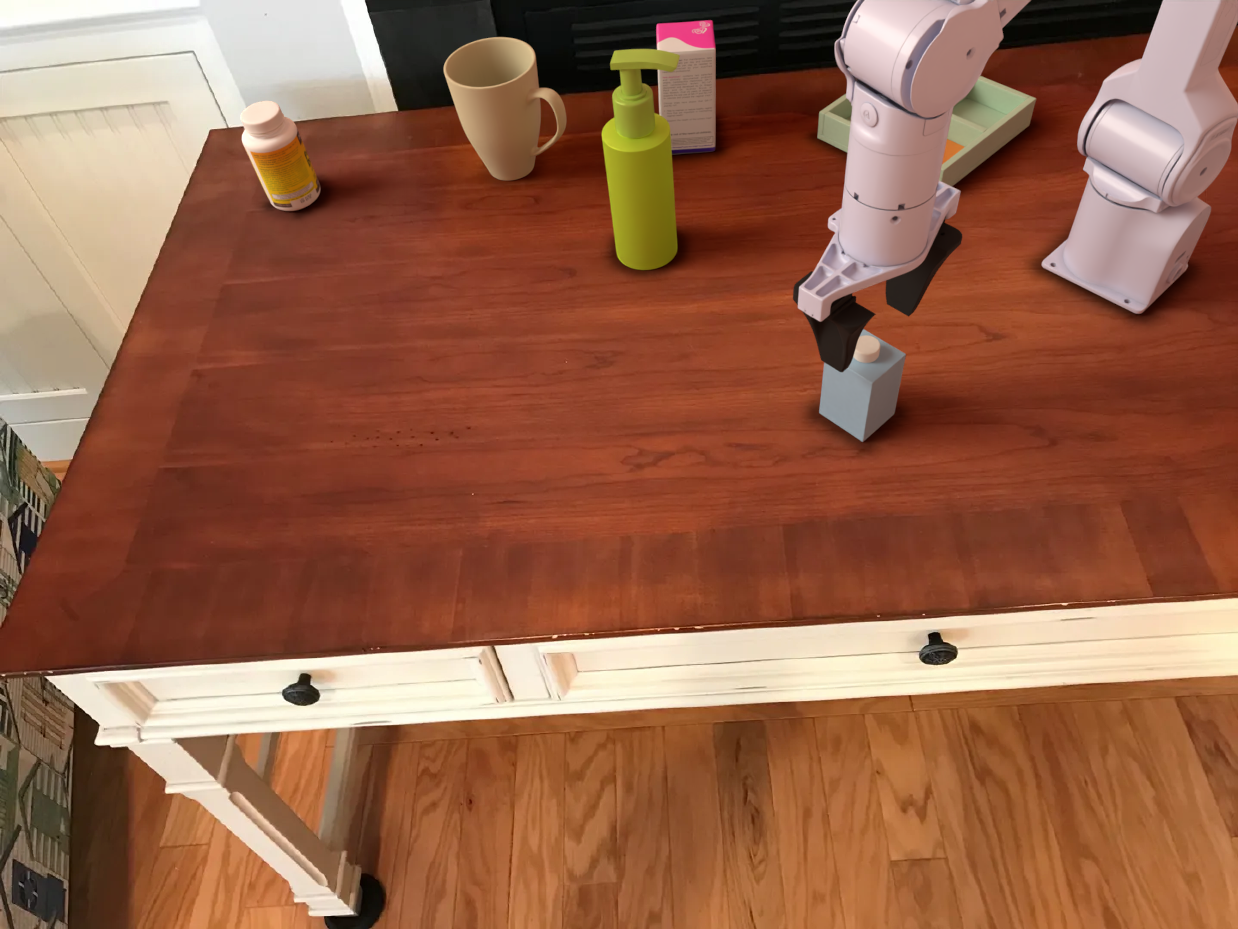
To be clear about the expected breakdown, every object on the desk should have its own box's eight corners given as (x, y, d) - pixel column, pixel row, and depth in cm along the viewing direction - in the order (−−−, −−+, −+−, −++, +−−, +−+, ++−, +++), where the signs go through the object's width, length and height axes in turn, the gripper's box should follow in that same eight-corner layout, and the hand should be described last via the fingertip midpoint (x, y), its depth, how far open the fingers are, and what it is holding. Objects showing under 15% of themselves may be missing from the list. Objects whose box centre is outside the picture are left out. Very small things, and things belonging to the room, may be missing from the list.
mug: (472, 205, 101) (445, 100, 91) (468, 148, 107) (442, 44, 97) (577, 187, 101) (561, 81, 91) (567, 132, 107) (550, 27, 98)
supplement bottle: (331, 196, 104) (297, 110, 96) (286, 220, 102) (247, 135, 94) (307, 173, 107) (271, 88, 99) (261, 197, 105) (222, 113, 97)
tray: (1029, 125, 100) (1036, 98, 98) (938, 197, 95) (943, 170, 92) (907, 73, 108) (911, 47, 105) (817, 137, 102) (818, 111, 100)
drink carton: (894, 414, 79) (908, 344, 73) (862, 442, 78) (873, 374, 71) (850, 385, 81) (859, 316, 75) (818, 413, 80) (825, 344, 74)
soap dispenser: (683, 272, 92) (672, 76, 76) (611, 268, 93) (585, 74, 77) (692, 231, 95) (683, 35, 79) (622, 228, 96) (600, 34, 80)
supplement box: (717, 152, 102) (715, 48, 93) (661, 156, 103) (653, 54, 94) (714, 119, 106) (712, 17, 97) (660, 123, 106) (652, 22, 97)
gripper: (910, 106, 66) (886, 261, 77) (764, 211, 61) (760, 361, 72) (1001, 146, 63) (962, 302, 73) (855, 261, 58) (836, 411, 68)
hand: (867, 335), depth 72 cm, fingers open, 7 cm apart
